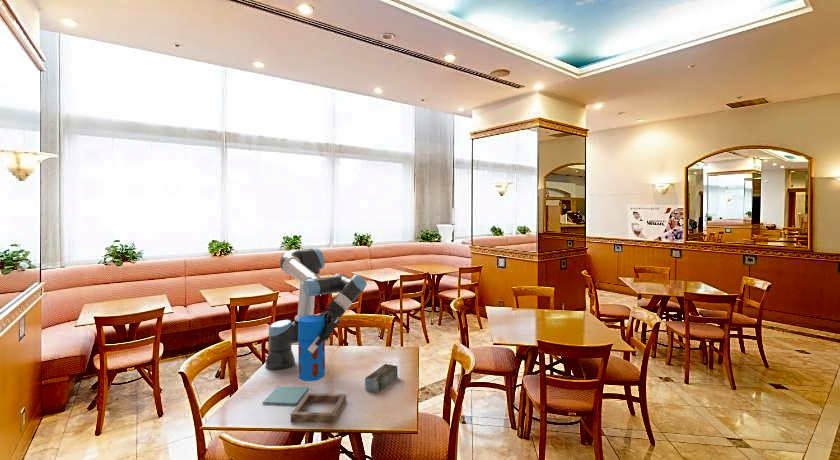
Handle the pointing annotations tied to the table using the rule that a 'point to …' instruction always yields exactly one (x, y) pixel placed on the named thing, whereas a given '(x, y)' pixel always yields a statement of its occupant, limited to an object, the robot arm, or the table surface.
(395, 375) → the beverage carton
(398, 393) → the table surface
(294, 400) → the mat
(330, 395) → the dock
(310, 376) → the thermos
